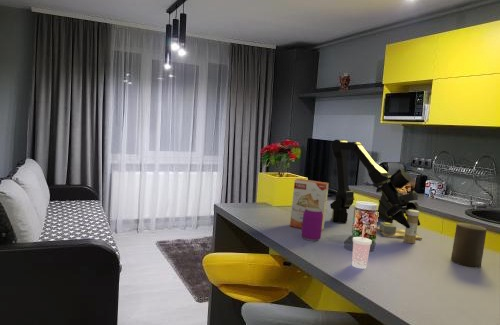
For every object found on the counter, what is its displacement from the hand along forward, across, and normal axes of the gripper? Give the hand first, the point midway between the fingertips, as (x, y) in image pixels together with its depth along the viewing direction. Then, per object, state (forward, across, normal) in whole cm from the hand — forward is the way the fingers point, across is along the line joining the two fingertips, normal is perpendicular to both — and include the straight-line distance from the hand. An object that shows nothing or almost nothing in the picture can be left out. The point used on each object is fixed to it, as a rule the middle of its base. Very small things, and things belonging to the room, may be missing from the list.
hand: (414, 226), depth 164 cm
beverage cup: (+8, -46, +2) cm, 47 cm away
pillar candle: (+21, -6, -11) cm, 25 cm away
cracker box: (-20, -25, +30) cm, 44 cm away
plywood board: (-2, +7, +12) cm, 14 cm away
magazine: (-14, +27, +24) cm, 39 cm away
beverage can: (-12, -36, +22) cm, 44 cm away
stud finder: (-5, +4, +14) cm, 15 cm away
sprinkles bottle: (+4, 0, +6) cm, 7 cm away
